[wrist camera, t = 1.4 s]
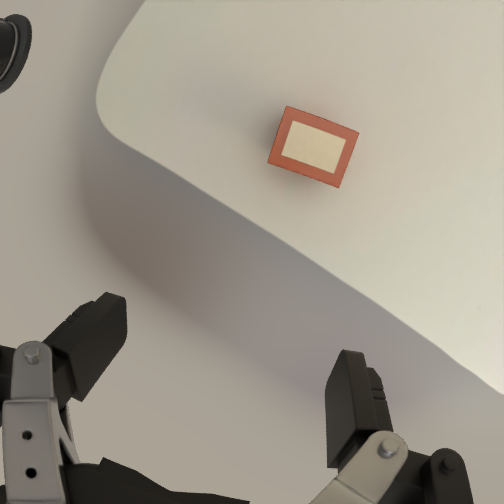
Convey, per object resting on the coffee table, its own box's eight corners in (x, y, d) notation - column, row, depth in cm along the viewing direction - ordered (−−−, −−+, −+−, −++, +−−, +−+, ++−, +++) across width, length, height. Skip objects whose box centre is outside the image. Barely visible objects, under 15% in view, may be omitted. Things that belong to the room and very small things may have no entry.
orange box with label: (326, 173, 27) (339, 188, 20) (274, 154, 27) (266, 162, 20) (341, 132, 26) (360, 132, 18) (288, 113, 26) (286, 105, 18)
